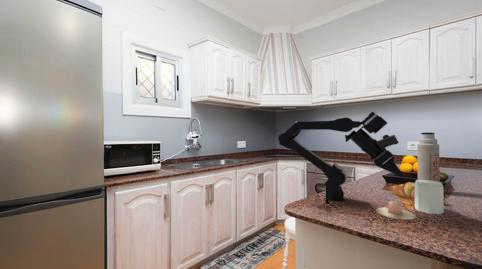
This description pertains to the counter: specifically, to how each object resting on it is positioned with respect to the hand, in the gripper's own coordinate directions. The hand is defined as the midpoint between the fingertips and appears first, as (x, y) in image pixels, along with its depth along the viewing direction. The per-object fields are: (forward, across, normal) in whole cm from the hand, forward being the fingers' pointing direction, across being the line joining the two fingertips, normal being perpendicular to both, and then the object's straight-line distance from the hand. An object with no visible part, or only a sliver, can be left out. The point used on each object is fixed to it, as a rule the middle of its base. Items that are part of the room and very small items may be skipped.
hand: (400, 173), depth 80 cm
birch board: (+8, -8, +11) cm, 16 cm away
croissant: (+15, +20, +4) cm, 25 cm away
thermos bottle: (+21, +37, -2) cm, 43 cm away
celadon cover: (+15, 0, +4) cm, 16 cm away
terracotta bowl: (+7, -8, +10) cm, 15 cm away
